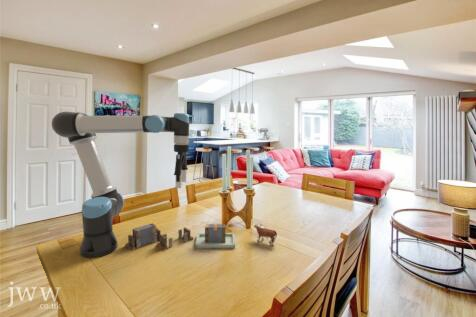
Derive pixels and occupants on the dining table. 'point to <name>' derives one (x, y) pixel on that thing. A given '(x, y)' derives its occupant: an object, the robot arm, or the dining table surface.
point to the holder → (131, 240)
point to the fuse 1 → (144, 234)
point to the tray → (228, 243)
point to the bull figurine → (265, 233)
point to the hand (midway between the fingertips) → (181, 184)
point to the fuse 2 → (215, 233)
